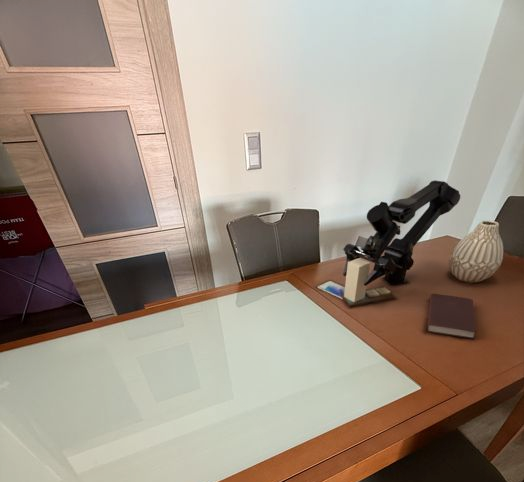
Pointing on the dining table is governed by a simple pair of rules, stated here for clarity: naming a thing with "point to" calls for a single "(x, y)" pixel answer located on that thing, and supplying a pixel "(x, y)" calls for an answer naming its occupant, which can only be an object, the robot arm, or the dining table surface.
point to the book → (451, 316)
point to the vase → (478, 253)
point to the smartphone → (332, 288)
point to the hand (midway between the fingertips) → (353, 280)
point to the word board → (371, 297)
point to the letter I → (356, 279)
